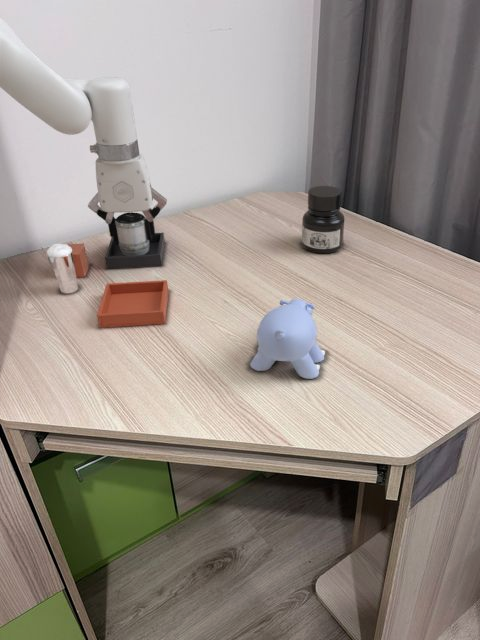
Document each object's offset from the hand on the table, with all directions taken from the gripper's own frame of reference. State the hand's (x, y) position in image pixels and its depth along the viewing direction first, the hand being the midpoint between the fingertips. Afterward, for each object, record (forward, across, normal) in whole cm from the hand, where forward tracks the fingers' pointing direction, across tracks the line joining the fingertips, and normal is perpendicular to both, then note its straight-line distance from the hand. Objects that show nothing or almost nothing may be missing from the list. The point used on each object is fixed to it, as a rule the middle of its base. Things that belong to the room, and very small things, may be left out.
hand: (133, 237), depth 113 cm
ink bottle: (+4, +40, 0) cm, 40 cm away
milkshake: (+4, -12, -14) cm, 19 cm away
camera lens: (+3, 0, 0) cm, 3 cm away
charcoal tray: (+4, 0, 0) cm, 4 cm away
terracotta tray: (+4, +2, -22) cm, 22 cm away
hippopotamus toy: (+4, +28, -39) cm, 48 cm away
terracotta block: (+4, -12, -6) cm, 14 cm away
